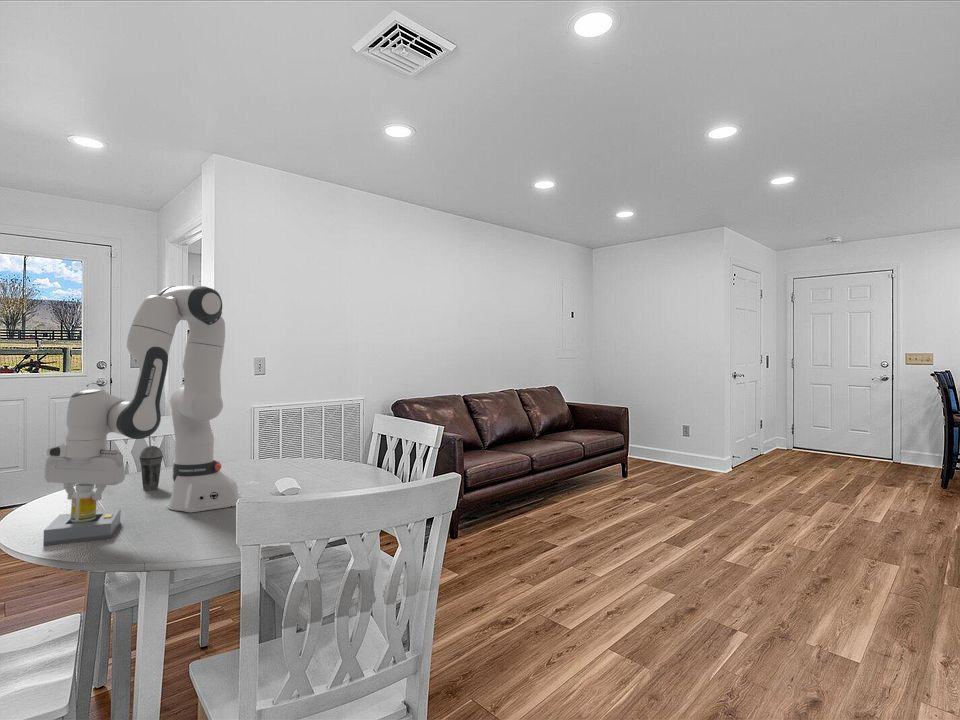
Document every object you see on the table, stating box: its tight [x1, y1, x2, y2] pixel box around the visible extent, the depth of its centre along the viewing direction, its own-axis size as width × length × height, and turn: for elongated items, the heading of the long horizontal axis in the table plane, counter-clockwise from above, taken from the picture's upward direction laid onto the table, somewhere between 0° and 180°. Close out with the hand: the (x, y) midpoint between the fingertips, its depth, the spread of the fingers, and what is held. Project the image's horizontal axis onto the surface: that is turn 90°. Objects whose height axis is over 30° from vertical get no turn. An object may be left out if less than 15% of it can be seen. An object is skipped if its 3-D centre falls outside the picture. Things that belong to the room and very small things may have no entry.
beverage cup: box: [139, 435, 164, 491], centre depth 184 cm, size 7×7×20 cm
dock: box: [43, 508, 122, 547], centre depth 138 cm, size 14×14×4 cm
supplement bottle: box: [70, 484, 97, 523], centre depth 138 cm, size 5×5×10 cm
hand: (84, 499), depth 138 cm, fingers closed on supplement bottle, 5 cm apart
